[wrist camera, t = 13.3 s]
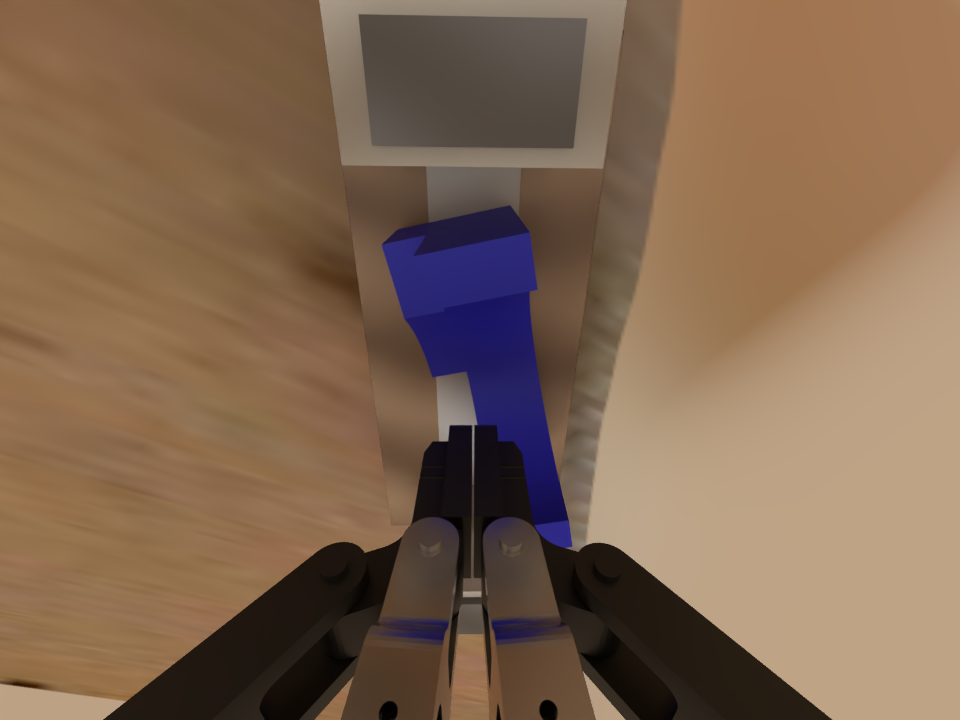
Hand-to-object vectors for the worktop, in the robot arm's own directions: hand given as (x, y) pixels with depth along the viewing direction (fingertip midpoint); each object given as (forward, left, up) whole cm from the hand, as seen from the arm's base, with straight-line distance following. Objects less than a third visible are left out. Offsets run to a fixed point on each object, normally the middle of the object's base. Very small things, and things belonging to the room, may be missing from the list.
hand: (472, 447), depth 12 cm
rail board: (0, 0, -8) cm, 8 cm away
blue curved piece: (0, 0, -6) cm, 6 cm away
